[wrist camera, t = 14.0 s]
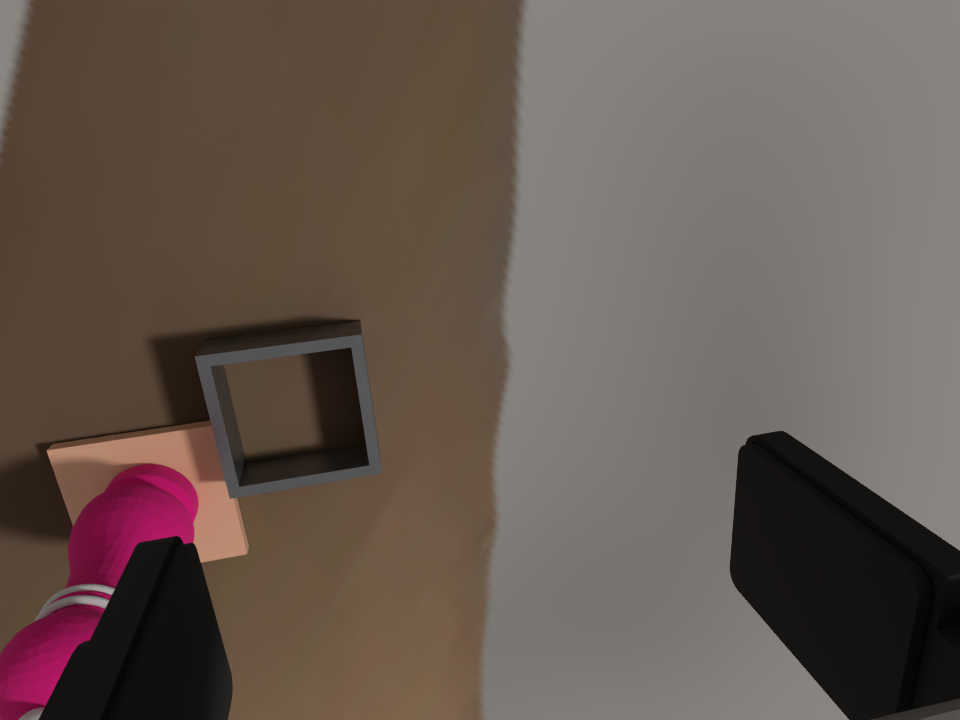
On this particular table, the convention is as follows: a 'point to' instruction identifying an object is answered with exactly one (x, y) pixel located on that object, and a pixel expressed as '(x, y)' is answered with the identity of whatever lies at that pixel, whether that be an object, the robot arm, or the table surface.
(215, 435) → the holder sleeve
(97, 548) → the pepper mill
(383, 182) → the table surface
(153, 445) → the plate
